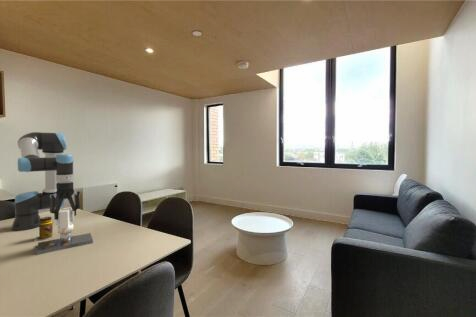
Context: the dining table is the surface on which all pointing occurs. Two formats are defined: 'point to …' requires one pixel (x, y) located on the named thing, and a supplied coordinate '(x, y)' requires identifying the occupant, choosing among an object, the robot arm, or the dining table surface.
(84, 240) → the base plate
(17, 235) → the dining table surface
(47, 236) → the condiment
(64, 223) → the lever handle
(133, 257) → the dining table surface
